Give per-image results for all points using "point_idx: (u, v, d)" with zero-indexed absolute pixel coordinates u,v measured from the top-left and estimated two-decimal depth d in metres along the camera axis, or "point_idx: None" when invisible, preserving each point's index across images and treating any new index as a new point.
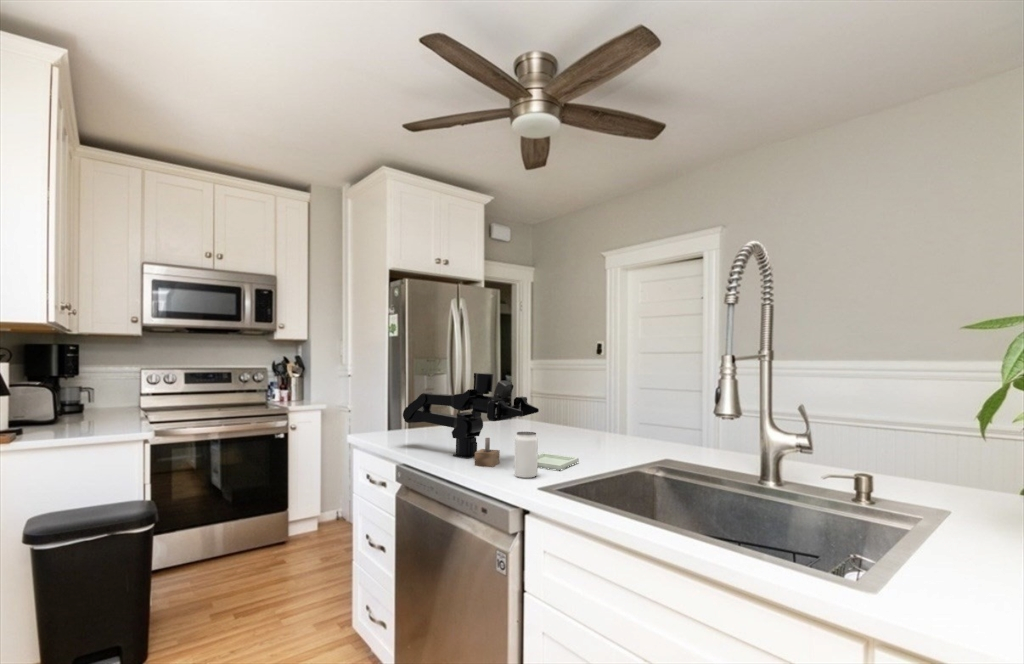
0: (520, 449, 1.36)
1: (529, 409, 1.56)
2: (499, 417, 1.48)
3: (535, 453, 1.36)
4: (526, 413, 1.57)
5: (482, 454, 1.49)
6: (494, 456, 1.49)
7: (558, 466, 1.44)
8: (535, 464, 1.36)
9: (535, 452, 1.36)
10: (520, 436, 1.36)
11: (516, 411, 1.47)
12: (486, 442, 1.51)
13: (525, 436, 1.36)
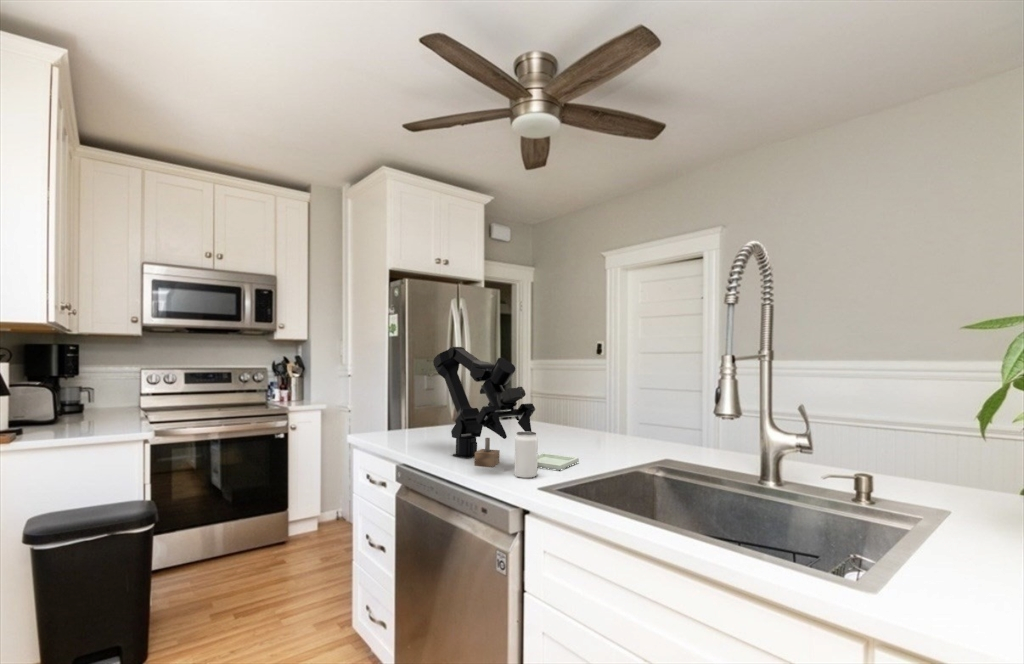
0: (520, 449, 1.36)
1: (525, 426, 1.46)
2: (486, 424, 1.42)
3: (535, 453, 1.36)
4: (522, 426, 1.48)
5: (482, 454, 1.49)
6: (494, 456, 1.49)
7: (558, 466, 1.44)
8: (535, 464, 1.36)
9: (535, 452, 1.36)
10: (520, 436, 1.36)
11: (501, 432, 1.39)
12: (486, 442, 1.51)
13: (525, 436, 1.36)
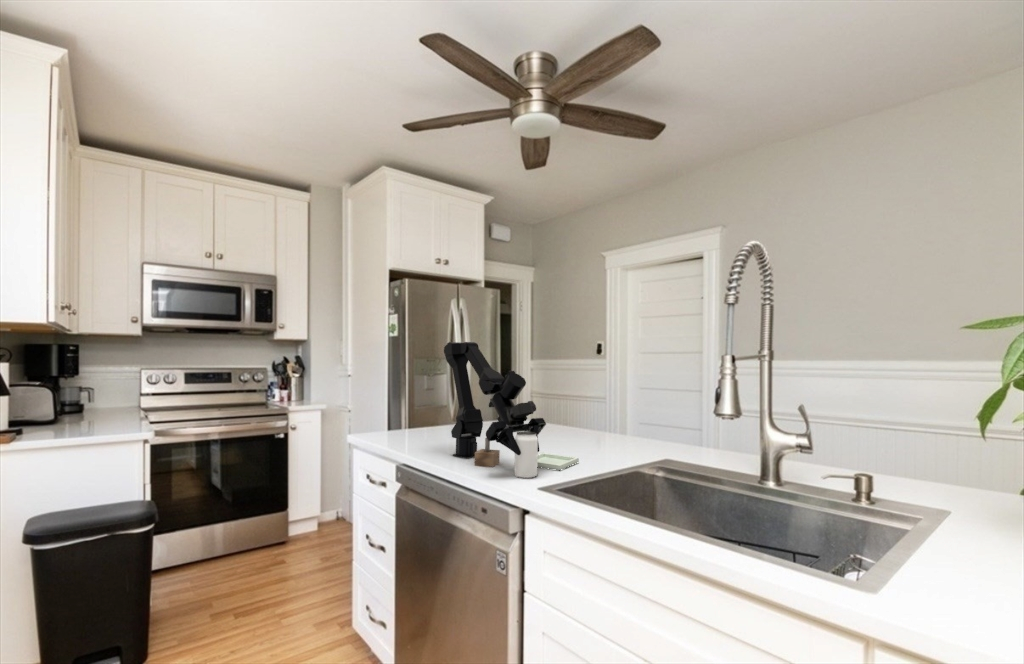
0: (520, 449, 1.36)
1: None
2: (499, 440, 1.38)
3: (535, 453, 1.36)
4: None
5: (482, 454, 1.49)
6: (494, 456, 1.49)
7: (558, 466, 1.44)
8: (535, 464, 1.36)
9: (535, 452, 1.36)
10: (520, 436, 1.36)
11: (515, 448, 1.36)
12: (486, 442, 1.51)
13: (525, 436, 1.36)
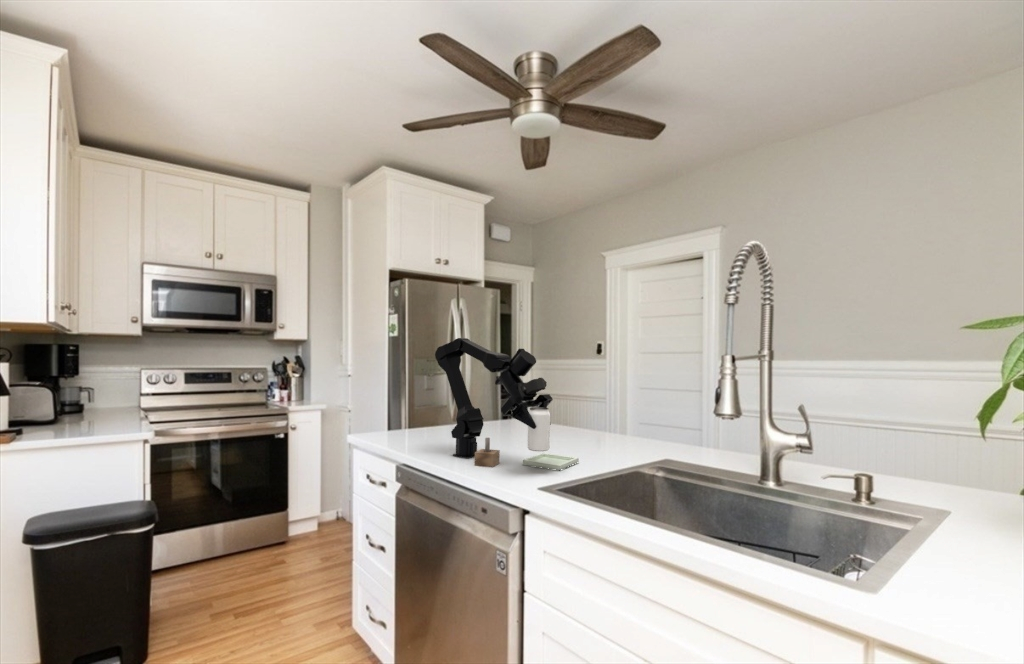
0: (535, 423, 1.41)
1: None
2: (513, 415, 1.42)
3: (549, 427, 1.42)
4: None
5: (482, 454, 1.49)
6: (494, 456, 1.49)
7: (558, 466, 1.44)
8: (548, 437, 1.42)
9: (549, 426, 1.42)
10: (535, 411, 1.41)
11: (531, 422, 1.40)
12: (486, 442, 1.51)
13: (540, 411, 1.41)
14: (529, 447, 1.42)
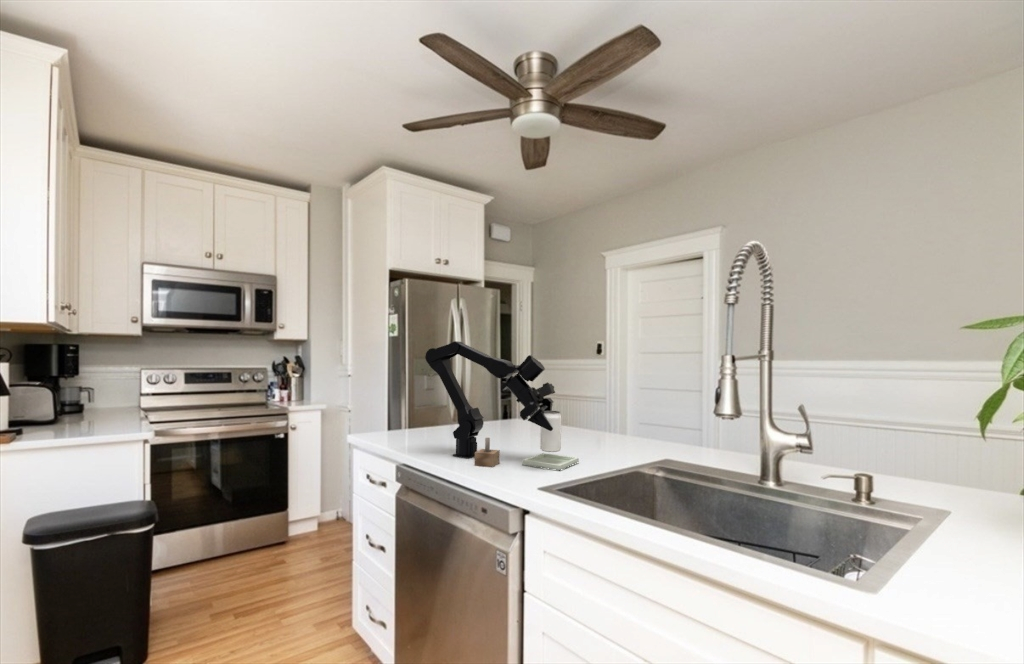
0: None
1: None
2: (531, 419, 1.50)
3: None
4: None
5: (482, 454, 1.49)
6: (494, 456, 1.49)
7: (558, 466, 1.44)
8: None
9: None
10: (550, 414, 1.51)
11: (548, 425, 1.50)
12: (486, 442, 1.51)
13: (555, 414, 1.51)
14: (544, 449, 1.51)
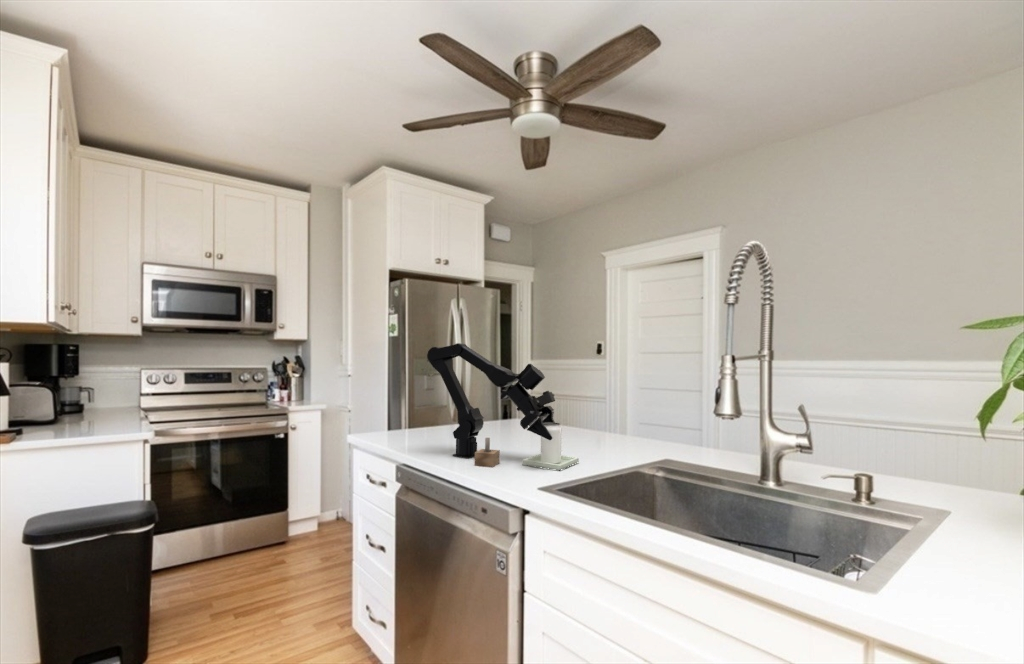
0: None
1: None
2: (530, 428, 1.48)
3: (561, 441, 1.53)
4: None
5: (482, 454, 1.49)
6: (494, 456, 1.49)
7: (558, 466, 1.44)
8: None
9: (561, 440, 1.53)
10: (550, 426, 1.51)
11: (547, 434, 1.48)
12: (486, 442, 1.51)
13: (555, 426, 1.51)
14: (545, 461, 1.51)
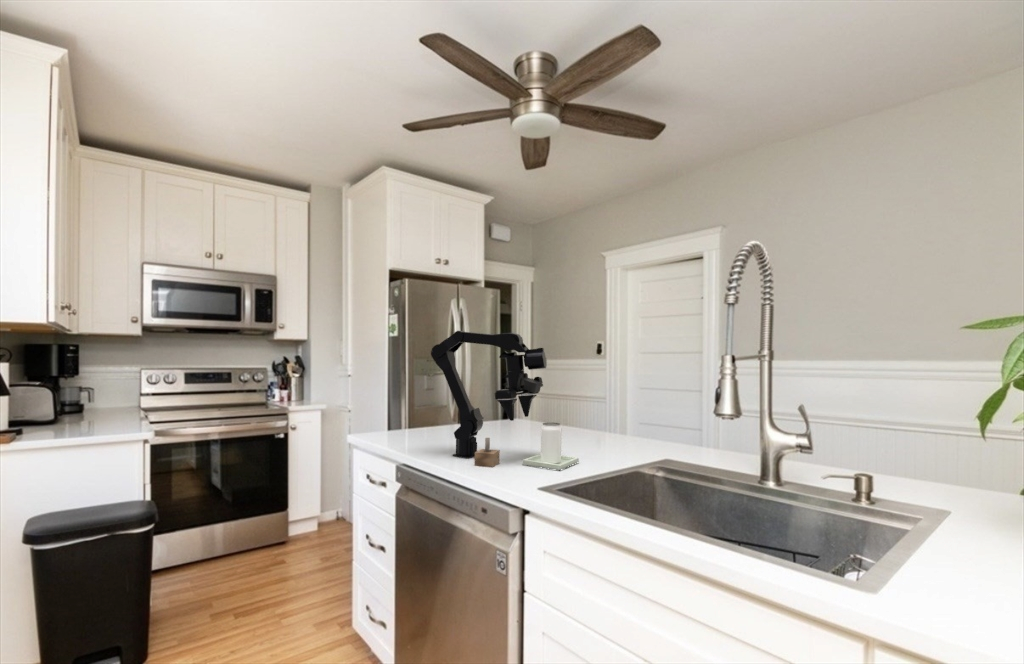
0: (551, 438, 1.50)
1: (525, 406, 1.64)
2: (500, 401, 1.55)
3: (561, 441, 1.53)
4: (521, 403, 1.65)
5: (482, 454, 1.49)
6: (494, 456, 1.49)
7: (558, 466, 1.44)
8: None
9: (561, 440, 1.53)
10: (550, 426, 1.51)
11: (511, 415, 1.55)
12: (486, 442, 1.51)
13: (555, 426, 1.51)
14: (545, 461, 1.51)
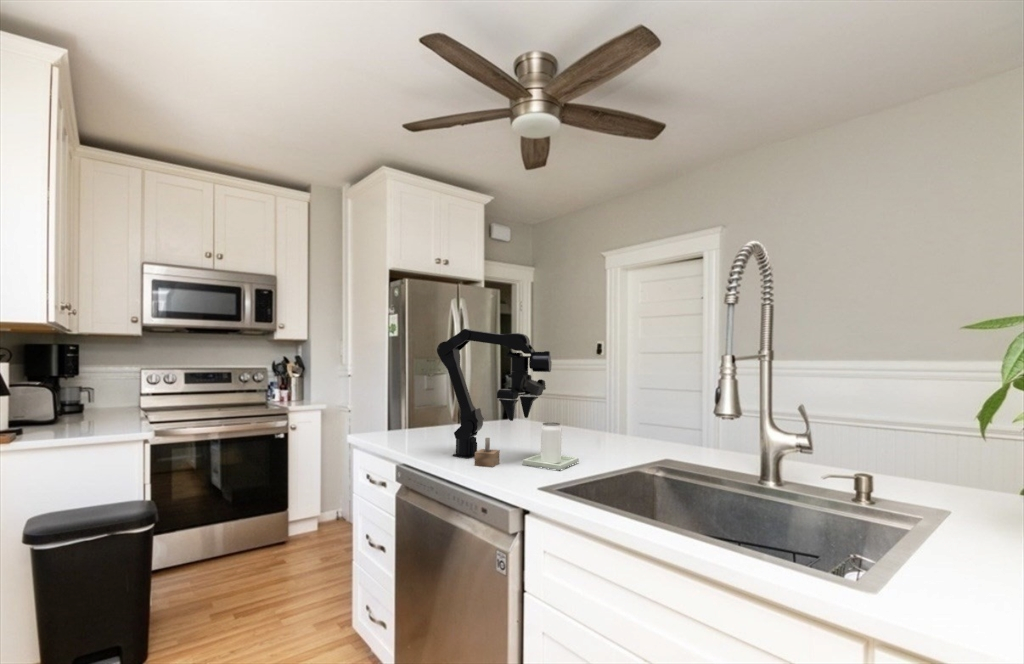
0: (551, 438, 1.50)
1: (526, 407, 1.64)
2: (502, 400, 1.55)
3: (561, 441, 1.53)
4: (522, 403, 1.65)
5: (482, 454, 1.49)
6: (494, 456, 1.49)
7: (558, 466, 1.44)
8: None
9: (561, 440, 1.53)
10: (550, 426, 1.51)
11: (511, 415, 1.55)
12: (486, 442, 1.51)
13: (555, 426, 1.51)
14: (545, 461, 1.51)
